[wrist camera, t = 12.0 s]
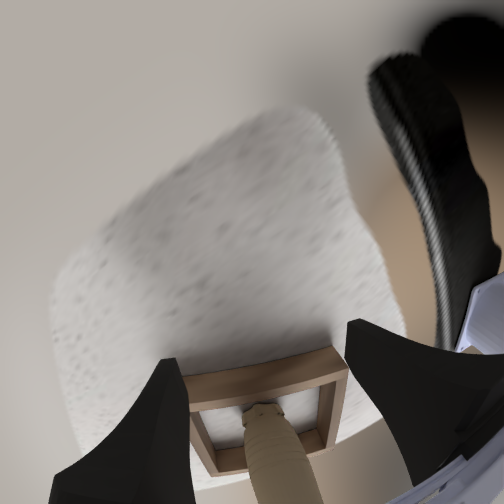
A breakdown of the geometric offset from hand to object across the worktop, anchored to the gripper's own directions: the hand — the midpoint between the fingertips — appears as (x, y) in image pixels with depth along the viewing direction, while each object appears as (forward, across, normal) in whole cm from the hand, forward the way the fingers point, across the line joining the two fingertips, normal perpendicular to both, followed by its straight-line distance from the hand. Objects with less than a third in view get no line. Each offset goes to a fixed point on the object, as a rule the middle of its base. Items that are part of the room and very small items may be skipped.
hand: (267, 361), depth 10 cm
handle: (+5, 0, +10) cm, 11 cm away
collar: (+5, 0, +10) cm, 11 cm away
